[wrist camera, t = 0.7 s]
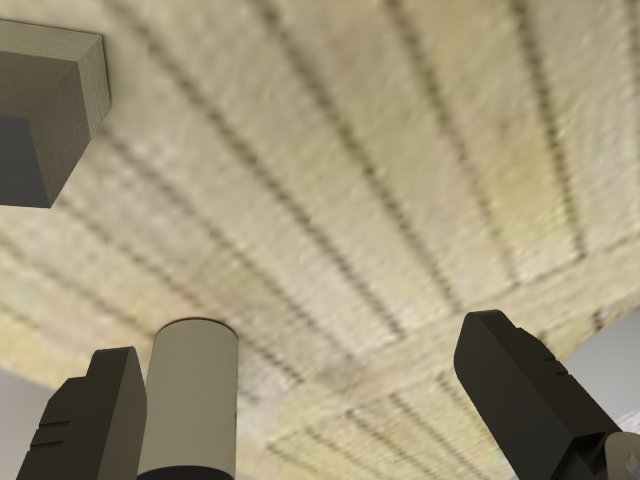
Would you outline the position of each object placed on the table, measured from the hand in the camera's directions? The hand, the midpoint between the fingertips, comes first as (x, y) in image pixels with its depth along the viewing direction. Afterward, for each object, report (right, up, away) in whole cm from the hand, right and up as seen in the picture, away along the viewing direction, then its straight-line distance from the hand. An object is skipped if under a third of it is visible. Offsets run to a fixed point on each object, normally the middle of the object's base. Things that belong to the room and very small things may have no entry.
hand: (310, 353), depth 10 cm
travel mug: (-12, -7, +32) cm, 35 cm away
